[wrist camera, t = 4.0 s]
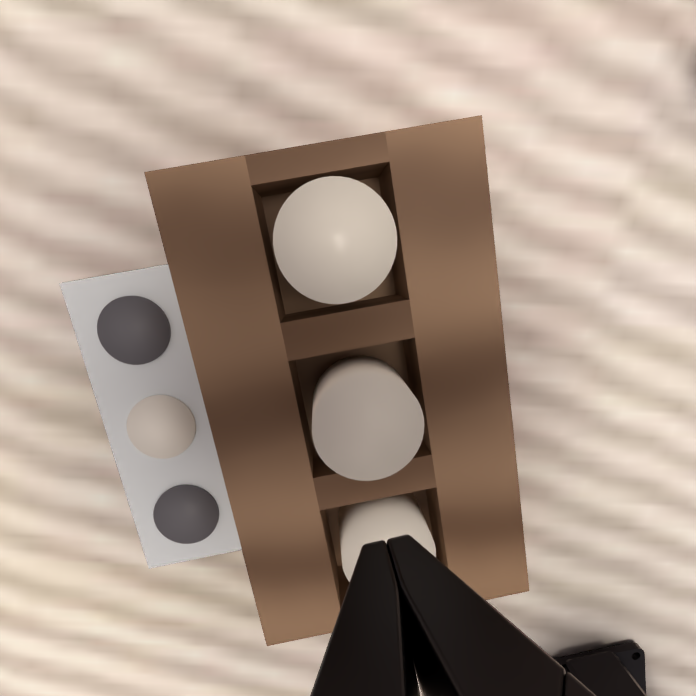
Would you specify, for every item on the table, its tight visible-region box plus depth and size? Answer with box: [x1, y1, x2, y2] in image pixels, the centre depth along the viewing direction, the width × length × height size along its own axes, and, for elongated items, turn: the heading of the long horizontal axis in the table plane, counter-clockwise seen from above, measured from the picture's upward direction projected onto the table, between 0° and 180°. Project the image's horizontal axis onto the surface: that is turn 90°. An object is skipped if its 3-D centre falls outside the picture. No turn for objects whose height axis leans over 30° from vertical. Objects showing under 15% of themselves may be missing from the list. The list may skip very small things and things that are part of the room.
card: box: [59, 264, 242, 569], centre depth 19 cm, size 14×5×1 cm, turn 10°
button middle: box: [312, 355, 424, 481], centre depth 16 cm, size 4×4×3 cm
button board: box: [144, 115, 529, 646], centre depth 19 cm, size 20×12×3 cm, turn 10°
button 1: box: [273, 176, 397, 304], centre depth 15 cm, size 4×4×3 cm
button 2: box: [338, 492, 436, 582], centre depth 19 cm, size 4×4×3 cm
